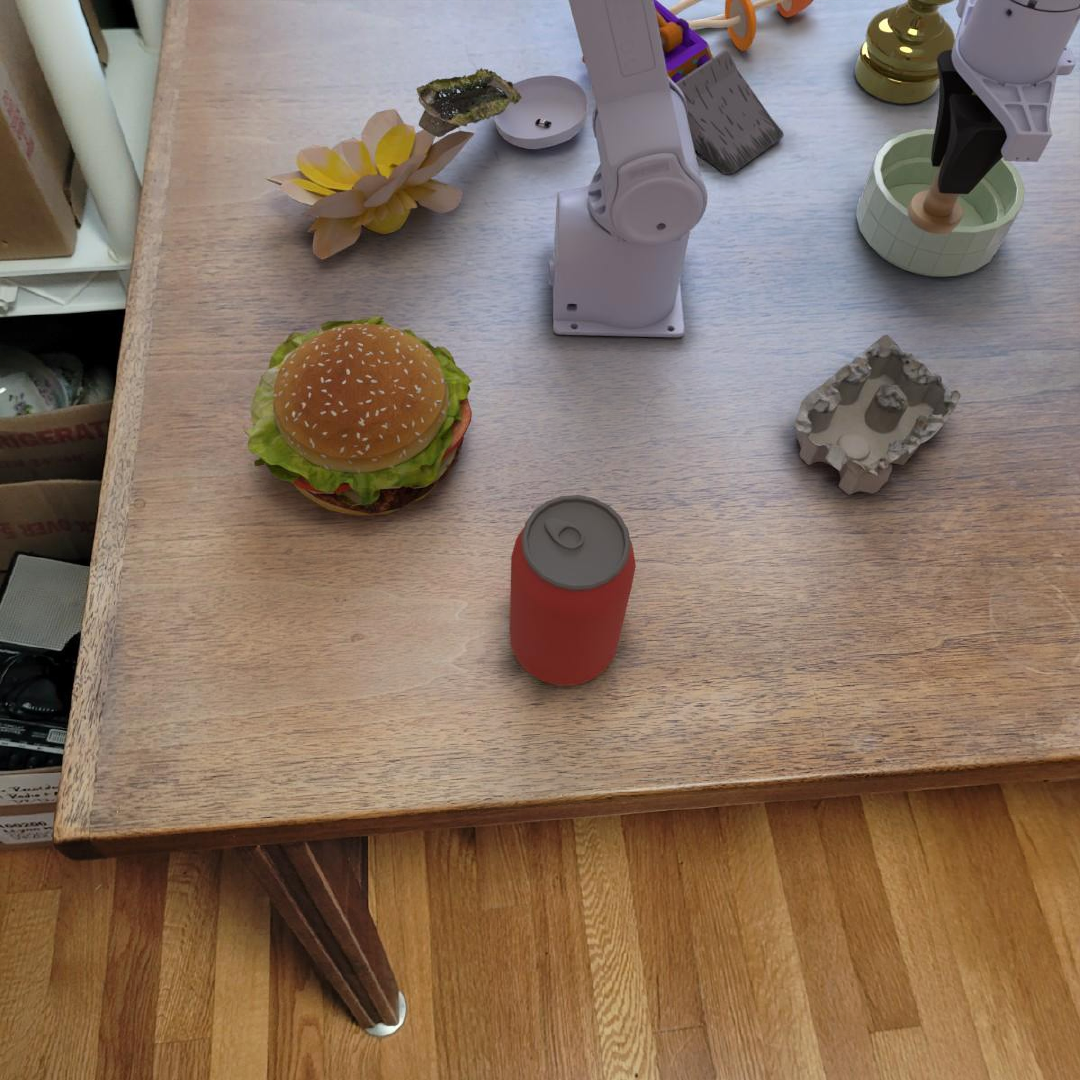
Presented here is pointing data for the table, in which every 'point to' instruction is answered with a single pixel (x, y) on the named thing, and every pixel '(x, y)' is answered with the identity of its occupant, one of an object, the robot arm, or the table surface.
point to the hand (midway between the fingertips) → (949, 177)
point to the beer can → (570, 589)
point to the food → (360, 416)
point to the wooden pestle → (935, 209)
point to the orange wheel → (741, 17)
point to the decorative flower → (371, 180)
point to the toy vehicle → (714, 97)
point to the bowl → (910, 172)
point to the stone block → (464, 101)
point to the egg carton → (873, 415)
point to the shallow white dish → (543, 112)
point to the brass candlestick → (904, 51)
